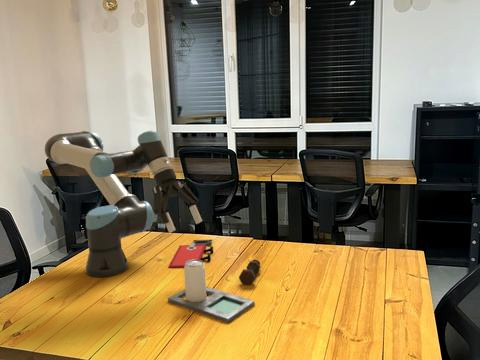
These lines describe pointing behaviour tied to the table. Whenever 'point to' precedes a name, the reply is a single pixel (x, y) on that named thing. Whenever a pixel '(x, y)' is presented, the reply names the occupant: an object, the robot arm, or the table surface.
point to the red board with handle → (191, 253)
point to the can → (195, 280)
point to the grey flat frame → (211, 301)
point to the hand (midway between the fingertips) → (186, 227)
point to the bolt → (250, 273)
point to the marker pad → (225, 306)
